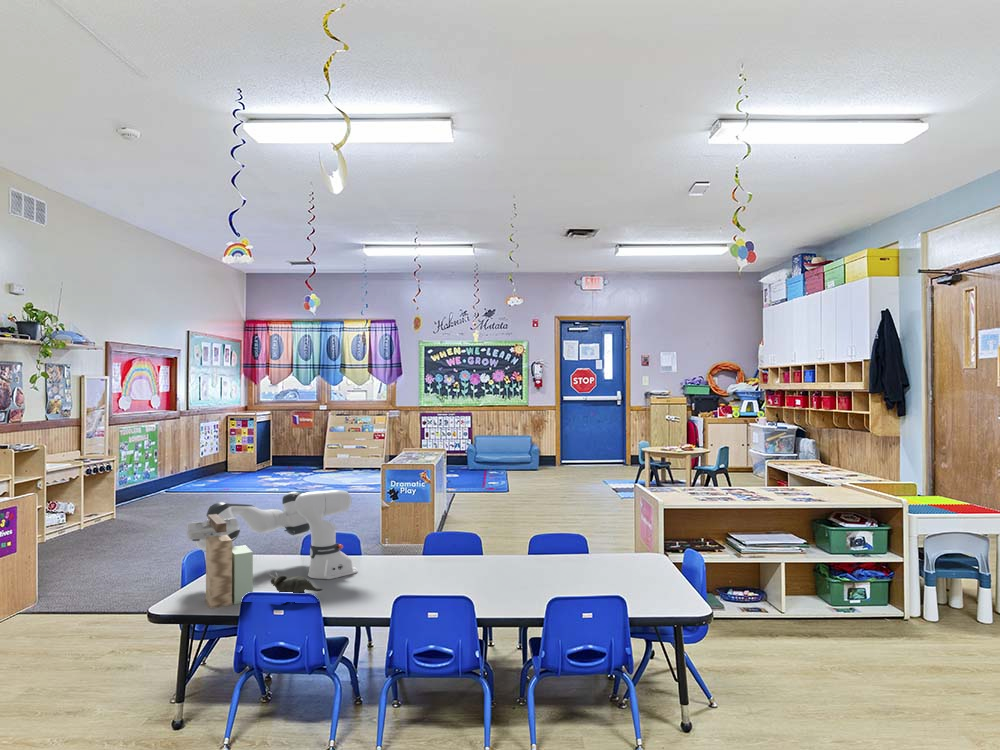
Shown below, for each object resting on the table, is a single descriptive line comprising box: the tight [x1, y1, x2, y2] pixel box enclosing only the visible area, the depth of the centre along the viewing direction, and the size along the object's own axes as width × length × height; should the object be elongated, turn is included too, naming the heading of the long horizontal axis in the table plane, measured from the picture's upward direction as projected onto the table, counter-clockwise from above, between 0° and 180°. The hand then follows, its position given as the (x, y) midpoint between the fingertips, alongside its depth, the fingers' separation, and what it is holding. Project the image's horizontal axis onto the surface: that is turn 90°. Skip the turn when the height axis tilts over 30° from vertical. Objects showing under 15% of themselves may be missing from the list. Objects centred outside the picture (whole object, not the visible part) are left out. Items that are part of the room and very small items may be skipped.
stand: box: [205, 535, 234, 610], centre depth 263 cm, size 8×11×26 cm
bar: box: [207, 514, 226, 533], centre depth 267 cm, size 4×22×4 cm, turn 33°
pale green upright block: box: [232, 544, 254, 605], centre depth 269 cm, size 7×14×20 cm, turn 33°
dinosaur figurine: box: [268, 571, 323, 594], centre depth 264 cm, size 22×8×11 cm, turn 90°
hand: (215, 520), depth 270 cm, fingers closed on bar, 3 cm apart
